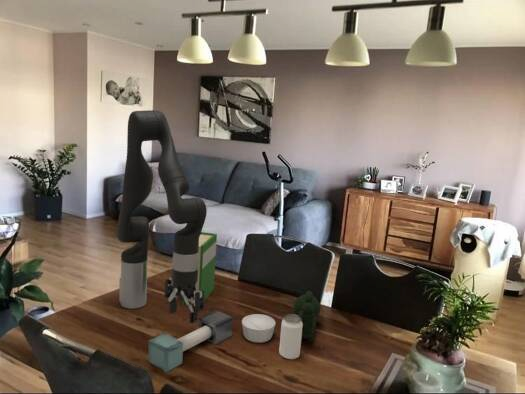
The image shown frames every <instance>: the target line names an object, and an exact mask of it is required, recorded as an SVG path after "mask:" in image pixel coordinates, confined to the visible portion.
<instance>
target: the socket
mask: <svg viewBox="0 0 525 394" xmlns="http://www.w3.org/2000/svg"><path fill="white" fill-rule="evenodd" d="M177 339H178V338H175V337H173V336H172V335H170V334H167V333H166V332H165V333H161V334H160V335H158V336H156V337H153V338H151V339H149V340H148V350H147V351H148V353H147V355H148V356H147V361H148V363H150V364H152V365H154V366H156V367H157V368H158V369H160V370H162V371H163V372H165V373H168V372H169V371H171V370H173V369H174V368H176V367H178V366H180V365H181V364H183V355H184V353H183V352H184V351H183V342H181V341H179V340H177Z"/></svg>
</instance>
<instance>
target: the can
mask: <svg viewBox="0 0 525 394" xmlns="http://www.w3.org/2000/svg"><path fill="white" fill-rule="evenodd" d="M302 326H303V324H302V318H301V317H300V316H298V315H295V313H294V314H293V313H289V314H285V315H284V316H283V319H282V320H281V326H280V336H279V338H280V339H279V351H278V353H279V355H280V357H281V358H283V359H286V360H296V359H298V358H299V357H300V355H301V346H302V345H301V344H302V339H301V337H302Z"/></svg>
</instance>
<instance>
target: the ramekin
mask: <svg viewBox="0 0 525 394" xmlns="http://www.w3.org/2000/svg"><path fill="white" fill-rule="evenodd" d="M241 326H242V334H243V336H244V338H245V339H246V340H247V341H249V342H252V343H255V344H257V343H259V344H261V343H265V342H269V340H271V338H273V335H274V331H275V327H276V321H275V319H274V318H273V317H271V316H270V315H266V314H260V313H255V314H254V313H253V314H249V315H246V316H244V317H243V318H242V320H241Z"/></svg>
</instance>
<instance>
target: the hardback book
mask: <svg viewBox="0 0 525 394" xmlns="http://www.w3.org/2000/svg"><path fill="white" fill-rule="evenodd" d="M217 235H218V234H217V233H212V232H203V231H201V234H200V237H199V249H198V255H199V265H198V281H197V283H196V285H195V286H196V290H198V291H201V290H203V291H204V303H205V301H206V300H207V299H208V297H209V296H210V295H211V294H212V292H213V291H214V289H215V288H214V287H215V275H216V274H215V273H216V271H215V270H216V255H217V239H218V236H217ZM192 300H193V298H191V299H190V300H189V301H192ZM185 304H186V302H185V301H184V300H182V299H181V305H185ZM199 306H200V304H199Z"/></svg>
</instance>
